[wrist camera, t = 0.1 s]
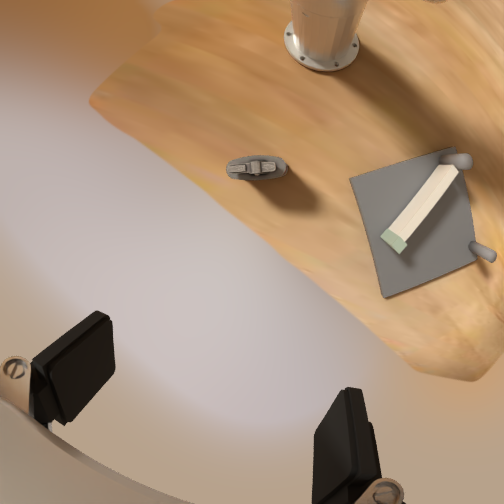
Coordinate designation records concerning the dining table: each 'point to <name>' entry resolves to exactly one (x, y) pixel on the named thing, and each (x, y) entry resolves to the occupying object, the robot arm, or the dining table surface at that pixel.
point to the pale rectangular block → (419, 207)
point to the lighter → (256, 168)
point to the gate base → (429, 230)
